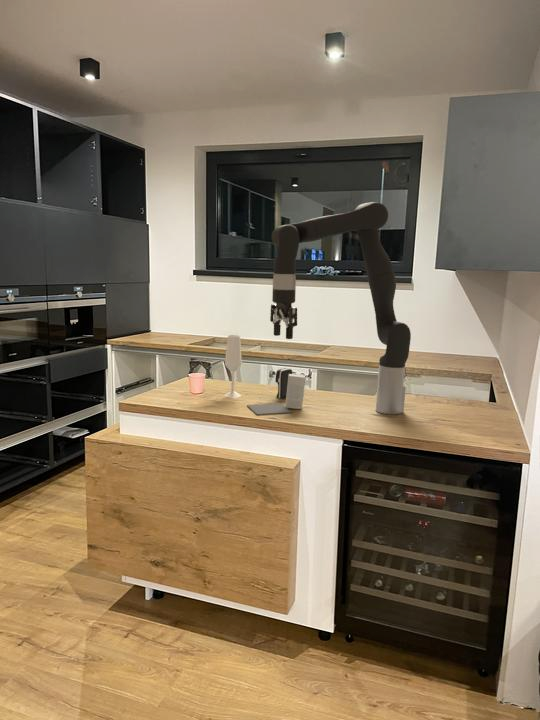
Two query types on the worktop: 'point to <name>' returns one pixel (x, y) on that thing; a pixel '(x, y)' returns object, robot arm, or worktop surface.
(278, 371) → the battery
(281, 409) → the mat
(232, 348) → the champagne flute
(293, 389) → the skincare box
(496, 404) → the worktop surface
